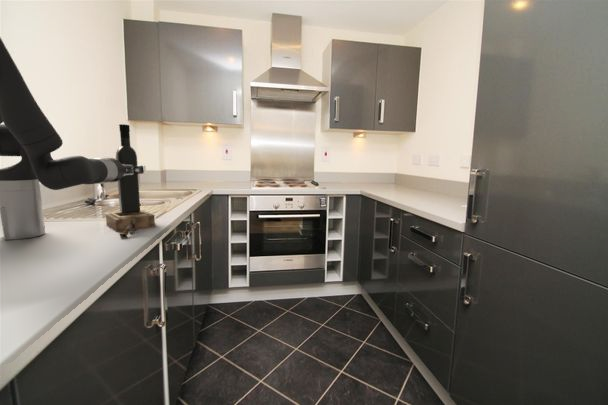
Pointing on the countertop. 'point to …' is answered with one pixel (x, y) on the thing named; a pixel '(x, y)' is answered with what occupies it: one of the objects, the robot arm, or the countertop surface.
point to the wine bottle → (127, 183)
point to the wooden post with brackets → (124, 234)
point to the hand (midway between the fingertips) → (129, 169)
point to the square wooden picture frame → (129, 220)
